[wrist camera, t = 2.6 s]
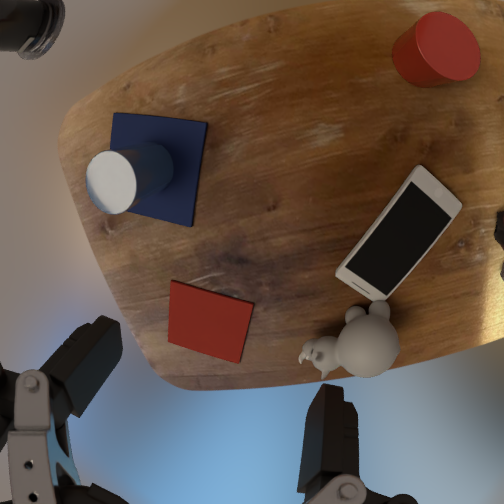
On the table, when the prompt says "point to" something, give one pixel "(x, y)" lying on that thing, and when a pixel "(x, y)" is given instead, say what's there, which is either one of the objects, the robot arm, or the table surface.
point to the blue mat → (183, 156)
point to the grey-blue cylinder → (128, 176)
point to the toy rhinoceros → (357, 344)
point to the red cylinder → (436, 51)
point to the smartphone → (400, 236)
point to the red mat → (208, 321)
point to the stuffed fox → (500, 234)
